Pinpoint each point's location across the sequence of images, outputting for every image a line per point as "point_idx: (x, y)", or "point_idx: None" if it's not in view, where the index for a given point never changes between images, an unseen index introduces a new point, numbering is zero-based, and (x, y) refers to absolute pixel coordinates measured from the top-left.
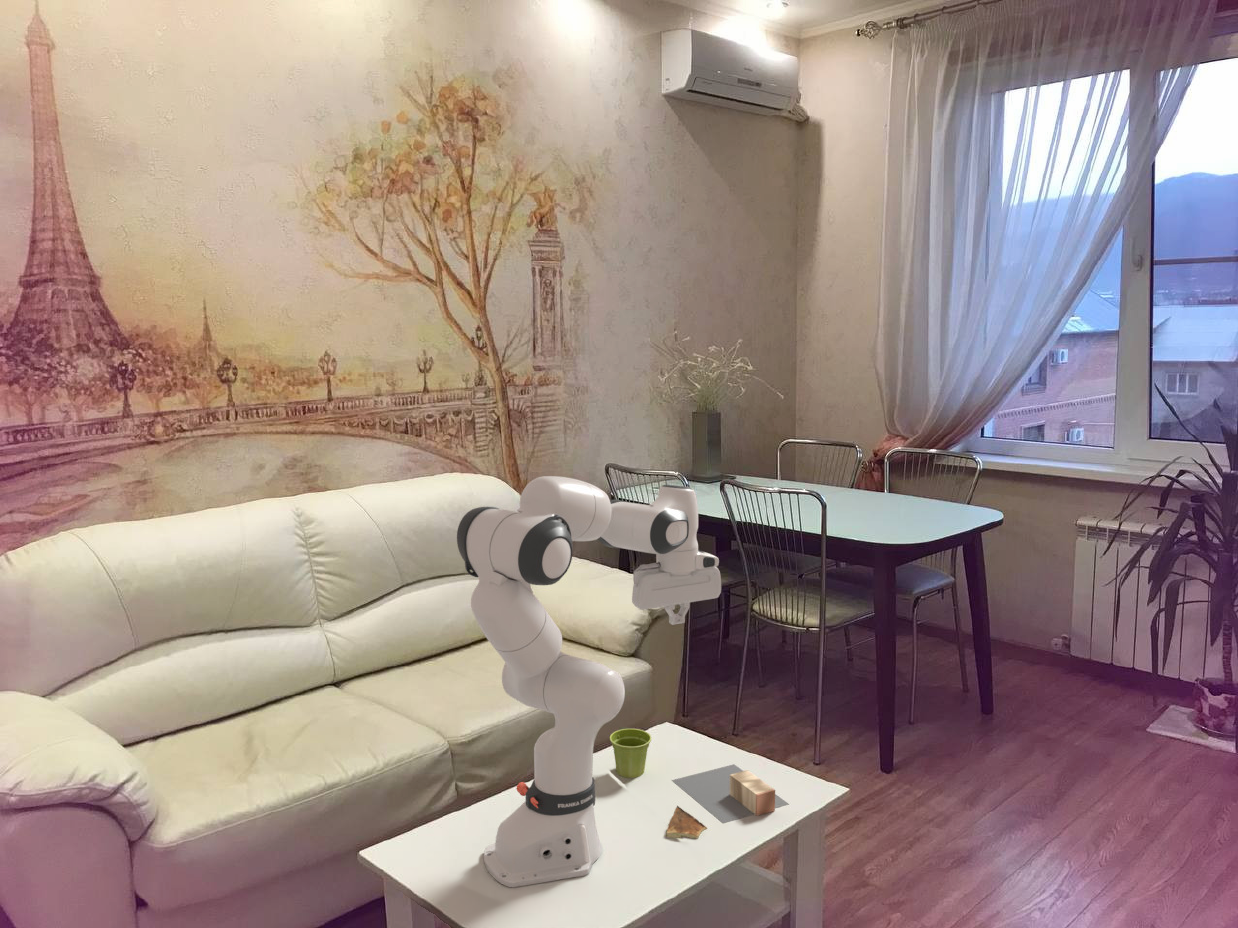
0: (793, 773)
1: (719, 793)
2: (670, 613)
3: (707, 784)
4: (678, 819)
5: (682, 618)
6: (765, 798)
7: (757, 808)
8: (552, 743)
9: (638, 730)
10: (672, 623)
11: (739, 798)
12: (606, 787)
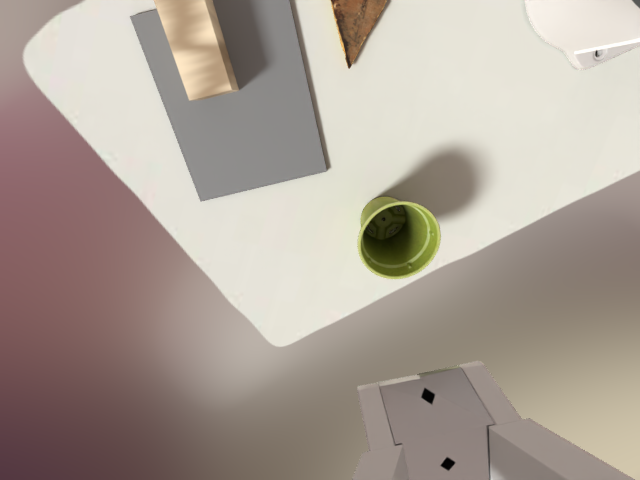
0: (95, 149)
1: (257, 99)
2: (594, 460)
3: (269, 139)
4: (365, 9)
5: (391, 415)
6: None
7: None
8: None
9: (373, 268)
10: (483, 370)
11: (227, 53)
12: (436, 181)
